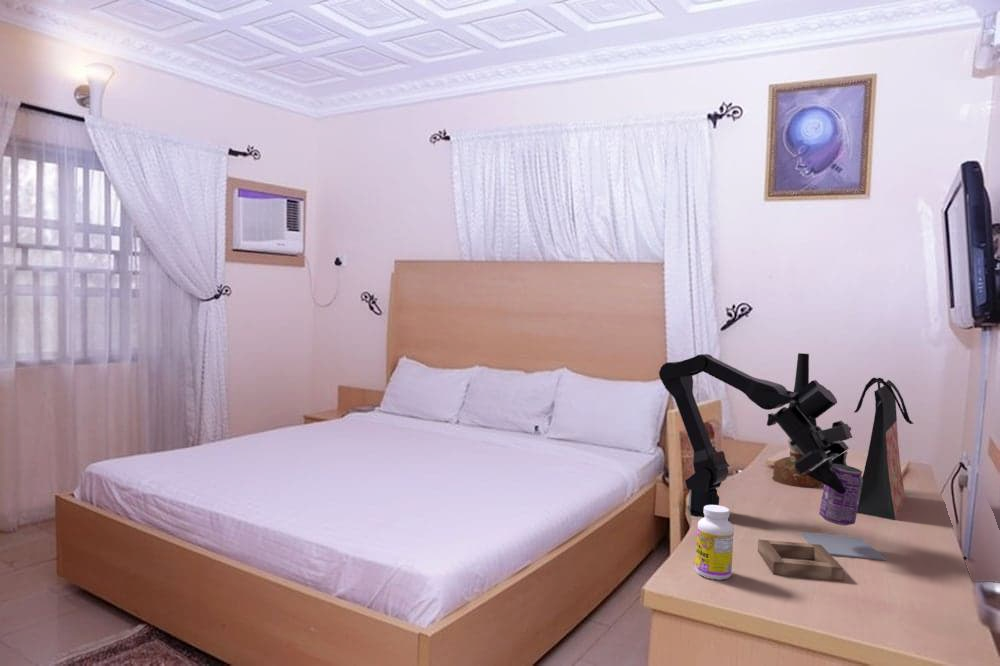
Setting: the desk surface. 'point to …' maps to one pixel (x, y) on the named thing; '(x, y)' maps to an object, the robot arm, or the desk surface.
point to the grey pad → (844, 545)
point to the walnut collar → (819, 569)
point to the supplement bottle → (714, 543)
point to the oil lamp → (786, 466)
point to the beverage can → (842, 496)
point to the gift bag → (883, 456)
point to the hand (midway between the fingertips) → (849, 489)
